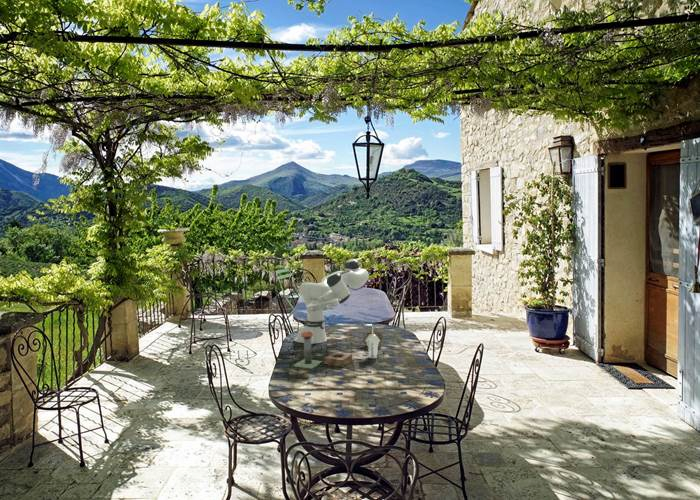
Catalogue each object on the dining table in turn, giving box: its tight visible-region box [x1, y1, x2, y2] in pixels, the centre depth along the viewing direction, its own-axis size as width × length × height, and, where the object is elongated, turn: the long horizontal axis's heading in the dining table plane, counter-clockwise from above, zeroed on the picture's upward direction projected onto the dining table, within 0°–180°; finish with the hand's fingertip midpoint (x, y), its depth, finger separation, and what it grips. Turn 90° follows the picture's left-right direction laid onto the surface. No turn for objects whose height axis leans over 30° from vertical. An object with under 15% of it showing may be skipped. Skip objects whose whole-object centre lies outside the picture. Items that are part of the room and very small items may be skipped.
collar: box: [323, 351, 353, 367], centre depth 304 cm, size 12×12×4 cm
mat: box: [293, 358, 323, 370], centre depth 302 cm, size 12×12×1 cm
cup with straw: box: [363, 323, 380, 359], centre depth 312 cm, size 8×9×20 cm
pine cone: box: [349, 330, 385, 347], centre depth 336 cm, size 22×10×10 cm, turn 89°
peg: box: [302, 332, 313, 364], centre depth 301 cm, size 6×6×17 cm
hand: (319, 309), depth 310 cm, fingers open, 8 cm apart
